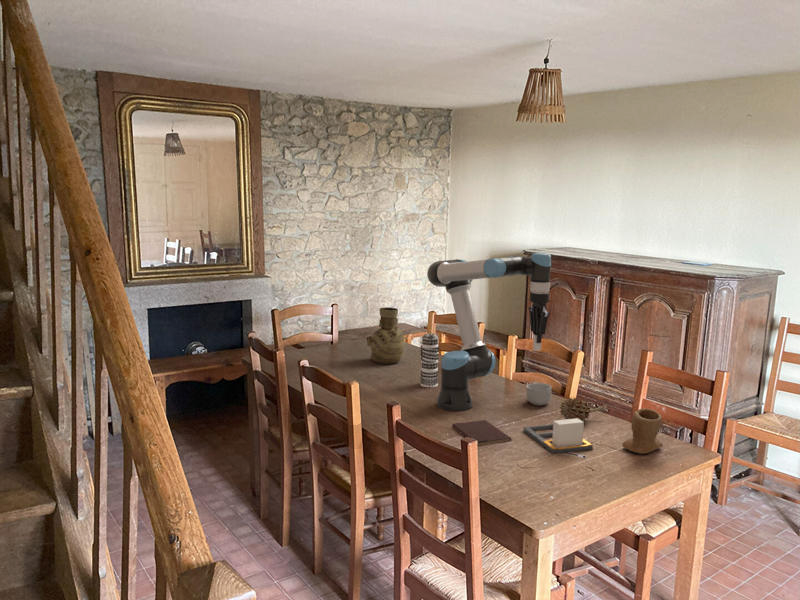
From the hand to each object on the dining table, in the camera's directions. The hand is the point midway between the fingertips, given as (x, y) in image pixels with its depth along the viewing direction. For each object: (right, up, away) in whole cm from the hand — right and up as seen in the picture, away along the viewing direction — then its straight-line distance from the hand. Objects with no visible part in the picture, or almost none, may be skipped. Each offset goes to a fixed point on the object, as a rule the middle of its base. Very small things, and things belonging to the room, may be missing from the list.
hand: (536, 350), depth 246 cm
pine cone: (+20, -29, +6) cm, 36 cm away
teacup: (+7, -26, +27) cm, 38 cm away
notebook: (-24, -32, -10) cm, 41 cm away
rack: (+4, -32, -16) cm, 36 cm away
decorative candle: (-41, -21, +51) cm, 68 cm away
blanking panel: (+6, -34, -22) cm, 41 cm away
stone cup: (+34, -34, -23) cm, 54 cm away
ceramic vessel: (-62, -14, +92) cm, 112 cm away
